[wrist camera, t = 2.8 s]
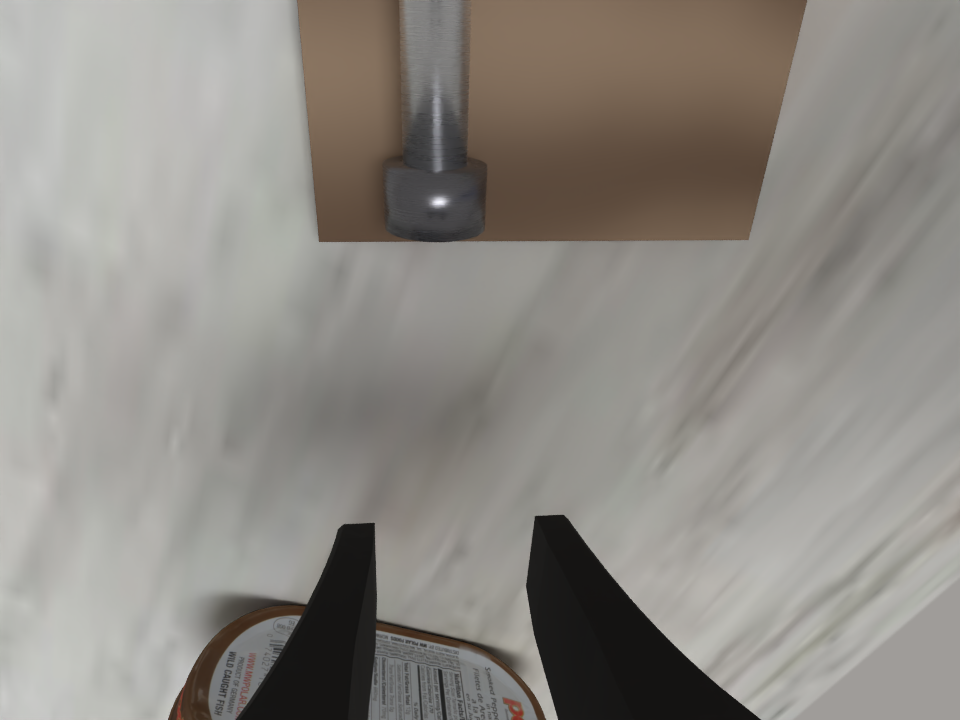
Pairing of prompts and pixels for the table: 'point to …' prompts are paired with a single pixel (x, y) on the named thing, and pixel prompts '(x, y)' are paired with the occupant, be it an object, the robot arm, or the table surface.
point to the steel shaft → (435, 129)
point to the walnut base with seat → (564, 114)
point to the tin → (395, 682)
